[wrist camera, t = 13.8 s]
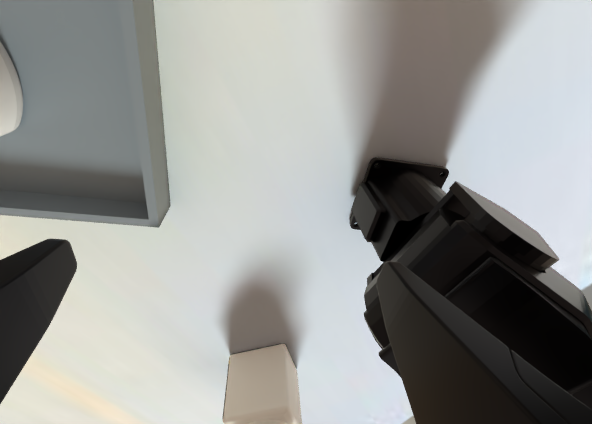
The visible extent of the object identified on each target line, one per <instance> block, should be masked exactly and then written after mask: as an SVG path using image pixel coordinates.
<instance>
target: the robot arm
mask: <svg viewBox="0 0 592 424" xmlns="http://www.w3.org/2000/svg"><path fill="white" fill-rule="evenodd" d="M376 163H379V165H378V166H377V167H374V165H375V164H376ZM441 172H443V173H442V174H441V175H440V173H441ZM448 174H449V171H448V169H446V168H445V167H443V166H436V165H428V164H421V163H414V162H407V161H399V160H392V159H385V158H374V159H372V160H371V161H370V163H369V166H368V169H367V172H366V175H365V178H364V181H363V182H362V183H361V184H360V186H359V188H358V191H357V194H356V197H355V200H354V203H353V206H352V212H353V213H352V216H351V219H350V226H351V228H352V229H357V230H361V231H362V233H363V235H364V237H365V239H366V241H367V242H372V244H373V246H374V248H375V250H376V252H377V254H378V256H379V258H380V260H381V261H383V262H384V263H383V264H382V265H381V266H380V267H379V268H378V269H377V270H376V271H375V272H374V273H371V275H370V276H369V277H368V278H367V287H366V290H365V294H364V298H365V304H366V309H367V310H366V311H365V312H364V317H365V320H366V322H367V325H368V327H369V329H370V331H371V333H372V334H373V336H374V338H375V340H376V342H377V343H378V344H379V346H380V347H381V348H382V350H381V351H380V352H379V356H380V358H381V359H382V360H383V361H384V362H386V363H387V364H388V365H389V366H390V367H391V368H392V369H394V370H395V371H396V372H397V373H398V374H399V376H400V377H401V378H402V381H403V384H404V387H405V390H406V393H407V396H408V399H409V402H410V405H411V408H412V412H413V415H414V418H415V421H416V424H592V311H591V309H590V306H589V305H588V302H587V300H586V298H585V296H584V294H583V293H582V291H581V290H580V289H579V288H577V287H576V286H575V285H574V284H572V283H571V282H570V281H568V280H567V279H566V278H564V277H563V276H562V275H560V274H559V273H558V272H557V271H555V270H554V269H553V268H551V267H550V266H551V265H553V264H554V263H555V262H557V261H558V260H559V258H558V256H557V255H556V254H555V253H554V252H553V250H552V249H551V248H550V247H549V245H548V244H547V243H546V242H545V240H544V239H543V238H542V237H541V235H540V234H539V233H538V232H537V231H535V230H534V229H532V228H531V227H530V226H528V225H527V224H525V223H524V222H523V221H521V220H520V219H518V218H517V217H516V216H514V215H513V214H511V213H510V212H508V211H507V210H505V209H504V208H502V207H500V206H499V205H497V204H495V203H493V202H492V201H490V200H488V199H486V198H485V197H483V196H481V195H479V194H478V193H476V192H474V191H472V190H470V189H469V188H467V187H465V186H463V185H462V184H460V183H458V182H456V181H455V182H454V184H453V185H452V186H451V187H450V188H449V189H450V191H449V192H448V193H447V194H446V193H445V192H444V191H443V190H442V189H441V188H442V186H443V184H444V182H445V180H446V178H447V177H448ZM356 222H357V224H354V223H356ZM76 269H77V262H76V259H75V256H74V253H73V250H72V247H71V244H70V243H69V242H68V241H67V240H62V239H47V240H44V241H42V242H40V243H38V244H35V245H33V246H31V247H29V248H26V249H24V250H22V251H20V252H17V253H15V254H13V255H11V256H8V257H6V258H4V259H2V260H0V404H1V402H2V401H3V399H4V397H5V396H6V394H7V393H8V391H9V389H10V388H11V386H12V385H13V383H14V381H15V380H16V378H17V377H18V375H19V373H20V372H21V370H22V369H23V367H24V365H25V364H26V362H27V361H28V359H29V357H30V356H31V354H32V353H33V351H34V349H35V348H36V346H37V345H38V343H39V341H40V340H41V338H42V337H43V335H44V333H45V332H46V330H47V328H48V327H49V325H50V323H51V321H52V319H53V317H54V315H55V313H56V311H57V309H58V307H59V305H60V303H61V301H62V299H63V297H64V295H65V293H66V291H67V288H68V286H69V284H70V282H71V280H72V278H73V276H74V274H75V272H76Z"/></svg>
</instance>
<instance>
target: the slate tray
mask: <svg viewBox="0 0 592 424" xmlns="http://www.w3.org/2000/svg"><path fill="white" fill-rule="evenodd" d="M0 42H1V43H2V45H3V46H4V48H5V50H6V51H7V53H8V55H9V57H10V59H11V61H12V63H13V65H14V67H15V70H16V72H17V75H18V78H19V81H20V84H21V89H22V95H23V112H22V118H21V122H20V124H19V126H18V127H17V128H16V129H15V130H14V131H12V132H10V133H7V134H5V135H3V136H0V215H9V216H21V217H34V218H47V219H59V220H72V221H85V222H97V223H110V224H123V225H135V226H148V227H159V226H160V224H161V223H162V221H163V219H164V217H165V215H166V213H167V211H168V210H169V208H170V195H169V184H168V172H167V160H166V148H165V136H164V125H163V113H162V101H161V89H160V78H159V66H158V54H157V42H156V30H155V19H154V7H153V0H0Z"/></svg>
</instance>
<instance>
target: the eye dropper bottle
mask: <svg viewBox="0 0 592 424" xmlns="http://www.w3.org/2000/svg"><path fill="white" fill-rule="evenodd" d="M22 112H23V95H22V89H21V84H20V81H19V78H18V75H17V72H16V70H15V67H14V65H13V63H12V61H11V59H10V57H9V55H8V53H7V51H6V50H5V48H4V46H3V45H2V43H1V42H0V136H3V135H5V134H7V133H10V132H12V131H14V130H15V129H16V128H17V127H18V126H19V124H20V122H21V118H22Z"/></svg>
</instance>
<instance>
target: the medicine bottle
mask: <svg viewBox="0 0 592 424" xmlns="http://www.w3.org/2000/svg"><path fill="white" fill-rule="evenodd" d="M223 423H224V424H302V419H301V408H300V398H299V387H298V376H297V370H296V368H295V365H294V363H293V361H292V359H291V356H290V354H289V352H288V350H287V347H286V345H285V344H279V345H274V346H269V347H265V348H260V349H255V350H251V351H246V352H241V353H237V354H232V355H230V357H229V365H228V374H227V384H226V393H225V402H224V411H223Z"/></svg>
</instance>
